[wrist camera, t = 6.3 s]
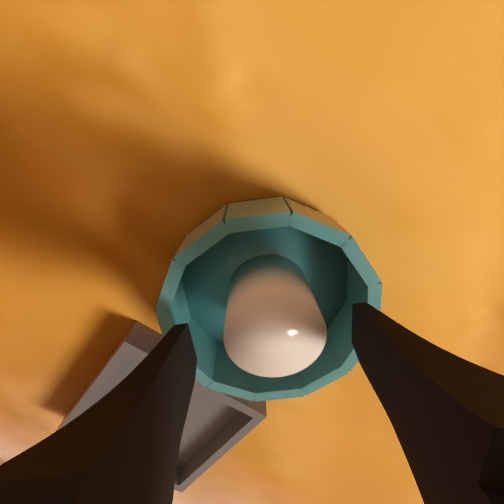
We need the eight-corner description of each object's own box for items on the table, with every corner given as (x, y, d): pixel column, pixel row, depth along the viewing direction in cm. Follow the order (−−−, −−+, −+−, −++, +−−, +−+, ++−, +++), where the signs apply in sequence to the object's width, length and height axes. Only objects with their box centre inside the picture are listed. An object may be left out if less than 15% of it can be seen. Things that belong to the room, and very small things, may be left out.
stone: (233, 326, 16) (229, 381, 13) (223, 258, 15) (216, 298, 11) (307, 319, 16) (326, 373, 13) (306, 250, 15) (327, 288, 11)
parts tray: (186, 465, 22) (181, 492, 21) (66, 414, 20) (50, 439, 18) (264, 392, 19) (266, 416, 18) (136, 321, 17) (124, 341, 15)
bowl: (195, 362, 18) (185, 409, 15) (155, 210, 14) (130, 231, 11) (352, 344, 18) (375, 388, 15) (355, 184, 14) (387, 198, 11)
